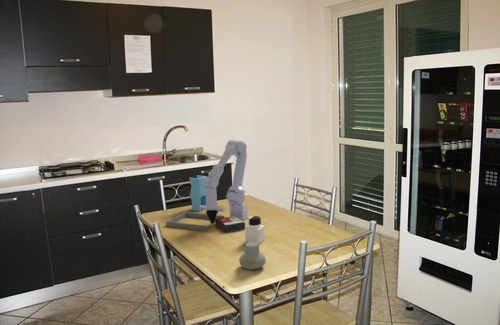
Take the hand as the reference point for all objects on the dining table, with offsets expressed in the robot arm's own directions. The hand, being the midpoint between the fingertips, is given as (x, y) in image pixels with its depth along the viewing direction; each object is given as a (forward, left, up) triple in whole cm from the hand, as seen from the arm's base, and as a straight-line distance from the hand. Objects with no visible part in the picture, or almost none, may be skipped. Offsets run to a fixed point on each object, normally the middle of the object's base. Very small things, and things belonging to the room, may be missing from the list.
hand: (212, 223), depth 247 cm
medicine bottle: (-32, +15, -1) cm, 35 cm away
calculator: (-10, 0, -1) cm, 10 cm away
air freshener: (-44, +44, -1) cm, 62 cm away
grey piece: (+10, 0, -1) cm, 10 cm away
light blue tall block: (+23, -25, -1) cm, 34 cm away
